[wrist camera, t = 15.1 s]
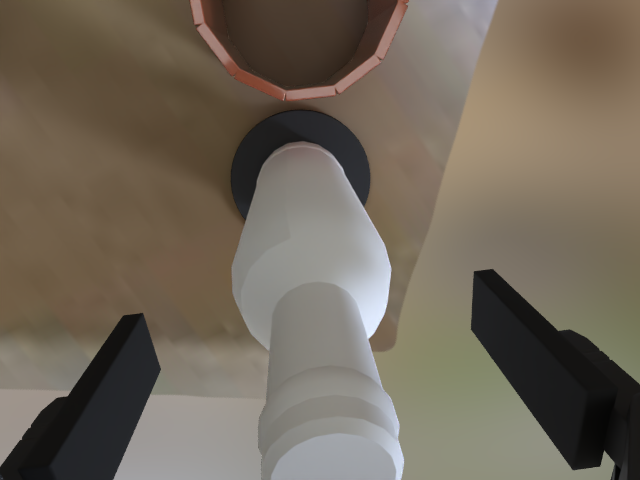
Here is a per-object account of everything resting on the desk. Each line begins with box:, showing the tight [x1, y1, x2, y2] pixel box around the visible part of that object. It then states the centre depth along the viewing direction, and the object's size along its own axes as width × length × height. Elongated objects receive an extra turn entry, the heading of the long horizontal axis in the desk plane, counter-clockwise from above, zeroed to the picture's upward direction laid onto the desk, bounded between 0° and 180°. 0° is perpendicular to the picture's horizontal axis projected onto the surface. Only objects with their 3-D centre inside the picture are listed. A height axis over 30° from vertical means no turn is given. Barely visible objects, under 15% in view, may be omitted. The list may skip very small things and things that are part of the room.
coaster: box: [231, 110, 370, 220], centre depth 38 cm, size 13×13×1 cm
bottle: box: [232, 141, 404, 480], centre depth 24 cm, size 8×8×30 cm
